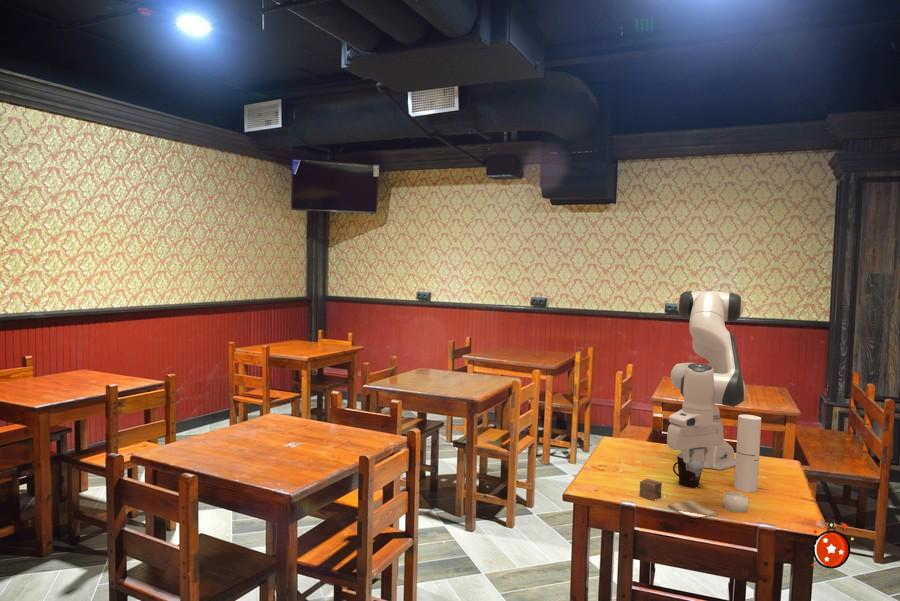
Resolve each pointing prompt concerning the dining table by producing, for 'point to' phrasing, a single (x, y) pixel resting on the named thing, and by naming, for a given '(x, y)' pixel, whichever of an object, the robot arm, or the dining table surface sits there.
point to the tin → (696, 460)
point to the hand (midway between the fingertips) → (694, 461)
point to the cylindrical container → (747, 453)
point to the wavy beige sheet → (692, 508)
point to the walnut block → (650, 489)
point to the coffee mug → (686, 474)
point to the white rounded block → (735, 502)
